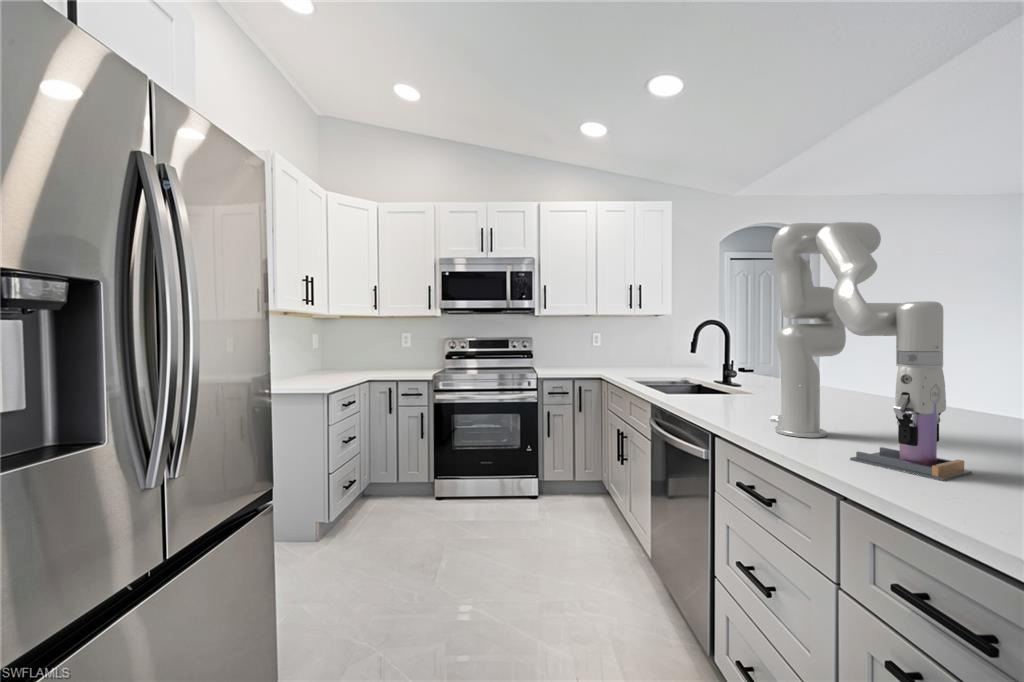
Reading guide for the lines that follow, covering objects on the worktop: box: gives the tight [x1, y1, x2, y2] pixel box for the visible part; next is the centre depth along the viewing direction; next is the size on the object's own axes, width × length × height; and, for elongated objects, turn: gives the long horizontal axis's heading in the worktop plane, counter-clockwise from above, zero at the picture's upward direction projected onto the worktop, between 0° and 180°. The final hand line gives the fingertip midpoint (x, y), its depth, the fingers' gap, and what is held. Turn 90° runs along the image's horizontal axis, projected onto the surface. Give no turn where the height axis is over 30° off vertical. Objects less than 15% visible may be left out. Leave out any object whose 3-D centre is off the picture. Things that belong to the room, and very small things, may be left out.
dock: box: [849, 446, 973, 482], centre depth 101 cm, size 17×11×2 cm, turn 24°
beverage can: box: [899, 402, 938, 467], centre depth 99 cm, size 6×6×15 cm
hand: (918, 442), depth 99 cm, fingers open, 7 cm apart
